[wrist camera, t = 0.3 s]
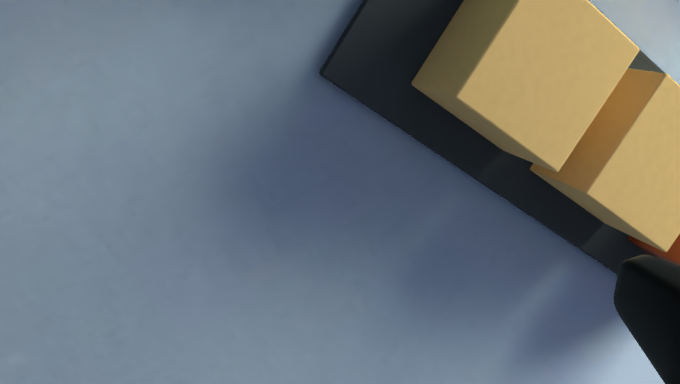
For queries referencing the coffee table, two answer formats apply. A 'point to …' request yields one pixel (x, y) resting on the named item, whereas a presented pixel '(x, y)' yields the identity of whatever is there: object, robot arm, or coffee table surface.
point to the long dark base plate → (529, 110)
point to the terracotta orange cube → (675, 254)
